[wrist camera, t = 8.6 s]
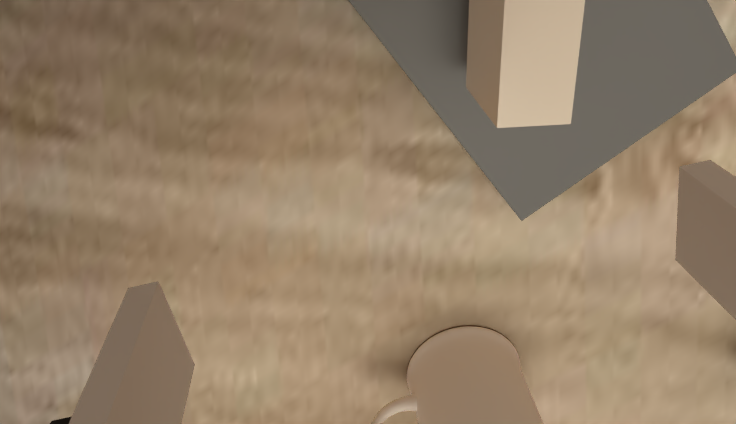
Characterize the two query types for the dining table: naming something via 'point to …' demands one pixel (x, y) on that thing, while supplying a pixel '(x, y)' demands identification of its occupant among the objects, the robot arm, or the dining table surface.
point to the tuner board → (592, 89)
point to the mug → (466, 381)
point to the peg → (524, 59)
